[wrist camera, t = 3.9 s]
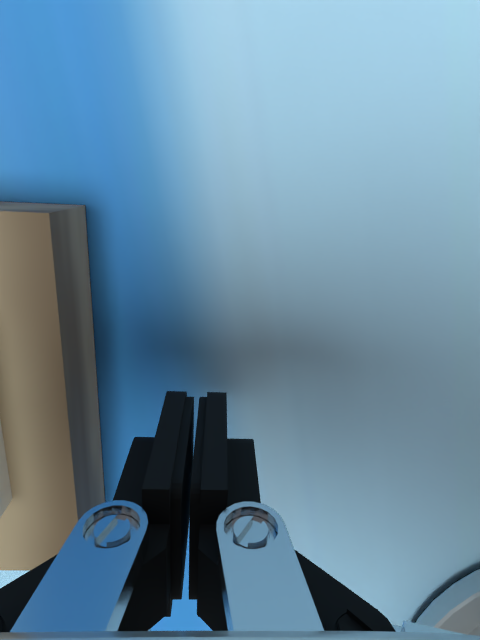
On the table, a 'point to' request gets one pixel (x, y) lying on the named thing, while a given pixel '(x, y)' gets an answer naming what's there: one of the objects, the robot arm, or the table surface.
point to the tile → (4, 478)
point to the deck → (46, 380)
